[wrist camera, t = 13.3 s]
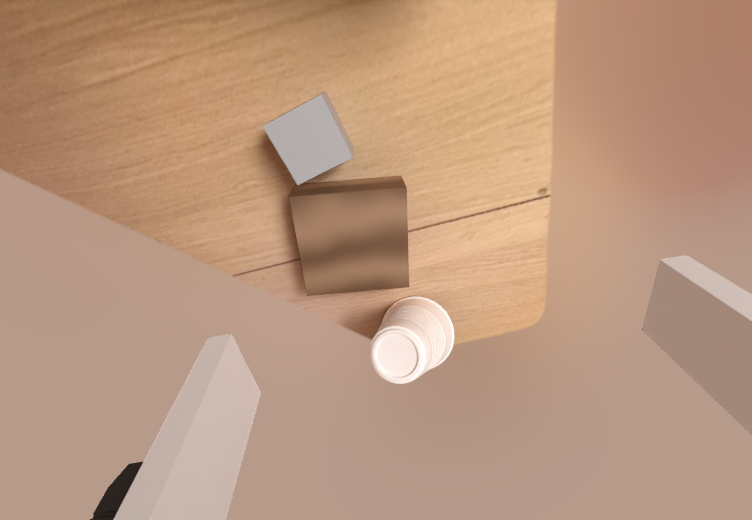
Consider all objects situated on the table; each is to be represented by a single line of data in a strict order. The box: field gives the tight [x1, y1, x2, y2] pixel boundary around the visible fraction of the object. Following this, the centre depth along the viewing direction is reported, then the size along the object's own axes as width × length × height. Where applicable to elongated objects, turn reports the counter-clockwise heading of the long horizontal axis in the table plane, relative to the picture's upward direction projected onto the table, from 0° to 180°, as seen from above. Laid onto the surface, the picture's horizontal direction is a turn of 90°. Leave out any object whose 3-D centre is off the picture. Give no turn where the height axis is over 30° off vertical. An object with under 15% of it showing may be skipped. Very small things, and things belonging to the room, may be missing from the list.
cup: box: [370, 296, 454, 384], centre depth 43 cm, size 10×10×11 cm
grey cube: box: [262, 91, 353, 185], centre depth 36 cm, size 6×6×6 cm
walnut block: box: [289, 176, 409, 296], centre depth 42 cm, size 12×12×5 cm
